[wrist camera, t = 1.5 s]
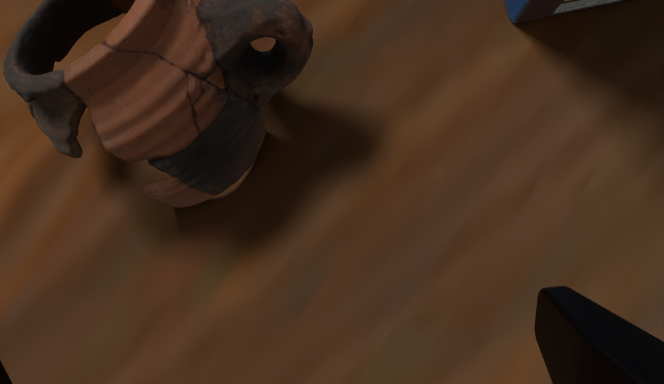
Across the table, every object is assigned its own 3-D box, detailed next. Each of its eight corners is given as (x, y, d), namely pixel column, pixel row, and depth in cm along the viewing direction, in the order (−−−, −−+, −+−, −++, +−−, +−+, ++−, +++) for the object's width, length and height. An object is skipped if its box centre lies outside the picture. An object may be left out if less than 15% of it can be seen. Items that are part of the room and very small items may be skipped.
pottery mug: (123, 250, 24) (-44, 150, 18) (134, 107, 30) (8, -9, 23) (365, 153, 22) (271, -5, 15) (327, 16, 27) (246, -143, 21)
